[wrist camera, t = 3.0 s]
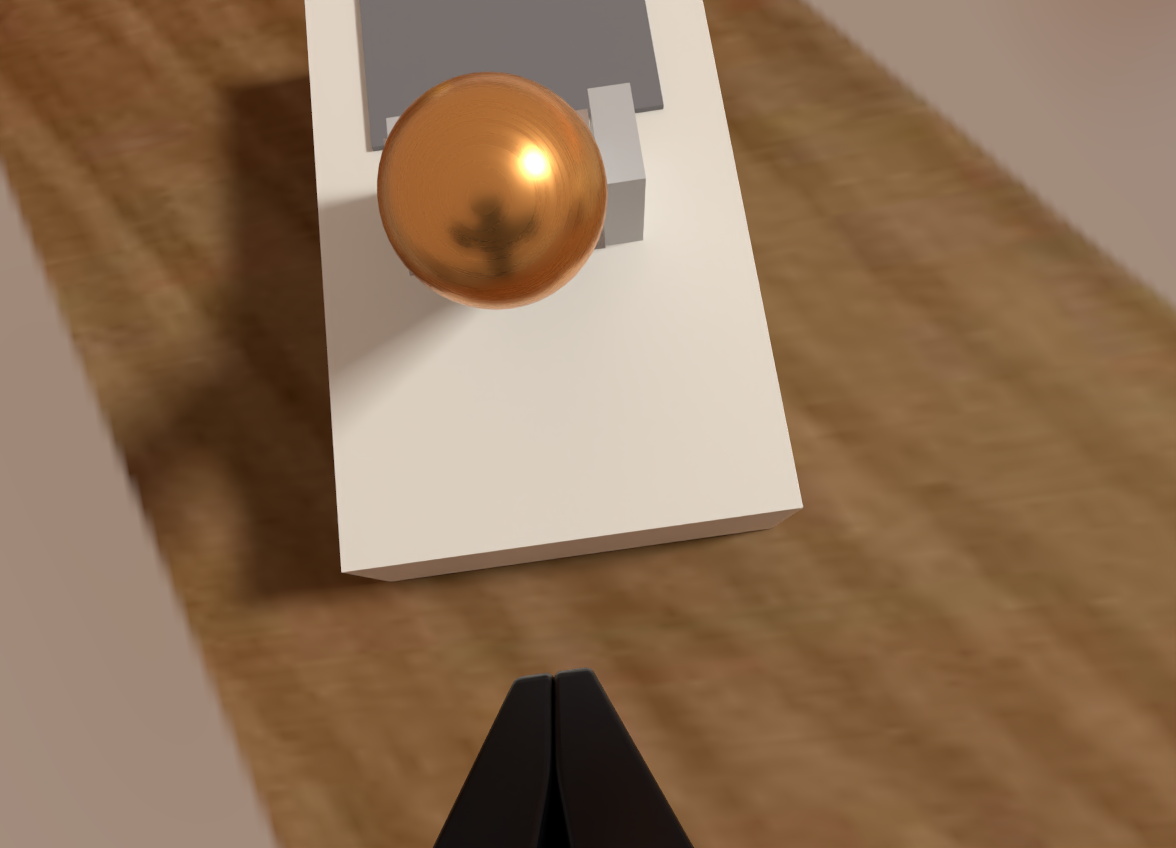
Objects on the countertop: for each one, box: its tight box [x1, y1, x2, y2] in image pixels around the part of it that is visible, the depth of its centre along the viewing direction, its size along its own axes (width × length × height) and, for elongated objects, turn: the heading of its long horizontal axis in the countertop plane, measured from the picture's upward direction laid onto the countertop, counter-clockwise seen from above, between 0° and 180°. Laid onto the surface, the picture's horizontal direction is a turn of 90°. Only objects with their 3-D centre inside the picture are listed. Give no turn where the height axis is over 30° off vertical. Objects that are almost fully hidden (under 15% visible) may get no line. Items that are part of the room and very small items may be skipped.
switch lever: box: [377, 71, 608, 310], centre depth 13 cm, size 3×3×10 cm
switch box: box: [305, 0, 803, 582], centre depth 18 cm, size 14×9×6 cm, turn 8°
